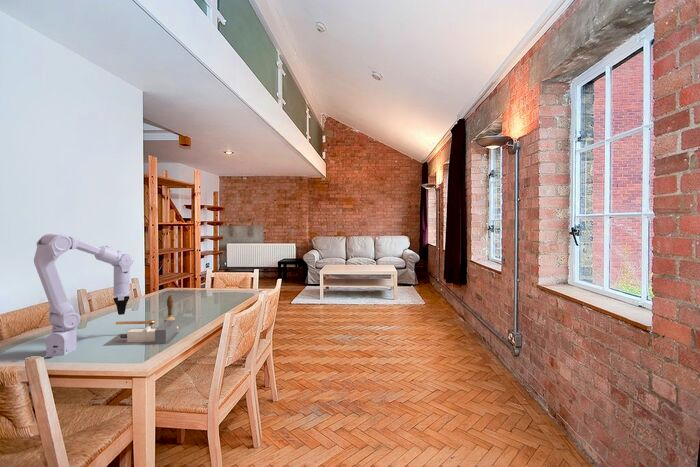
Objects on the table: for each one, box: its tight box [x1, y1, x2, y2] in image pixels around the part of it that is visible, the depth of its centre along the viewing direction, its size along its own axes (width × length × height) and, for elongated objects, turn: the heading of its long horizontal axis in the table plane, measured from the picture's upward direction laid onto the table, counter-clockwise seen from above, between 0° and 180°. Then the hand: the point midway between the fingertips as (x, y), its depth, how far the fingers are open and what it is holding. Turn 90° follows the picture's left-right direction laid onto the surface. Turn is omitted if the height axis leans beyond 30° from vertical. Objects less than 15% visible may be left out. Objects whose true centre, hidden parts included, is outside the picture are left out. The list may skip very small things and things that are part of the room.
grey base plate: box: [102, 319, 180, 347], centre depth 153 cm, size 16×24×6 cm, turn 100°
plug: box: [120, 326, 157, 343], centre depth 150 cm, size 4×17×5 cm, turn 100°
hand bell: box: [163, 294, 179, 330], centre depth 168 cm, size 8×8×16 cm
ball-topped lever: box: [115, 319, 156, 325], centre depth 158 cm, size 15×2×1 cm, turn 100°
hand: (121, 314), depth 156 cm, fingers closed
